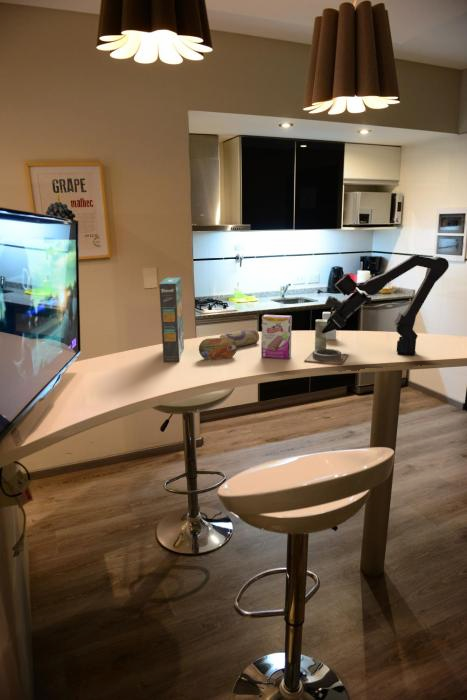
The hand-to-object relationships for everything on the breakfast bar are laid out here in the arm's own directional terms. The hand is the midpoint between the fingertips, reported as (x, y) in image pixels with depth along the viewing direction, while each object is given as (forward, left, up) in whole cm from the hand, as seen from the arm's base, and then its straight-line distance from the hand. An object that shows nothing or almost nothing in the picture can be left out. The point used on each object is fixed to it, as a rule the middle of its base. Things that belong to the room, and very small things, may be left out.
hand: (322, 330), depth 187 cm
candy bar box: (+15, +16, -9) cm, 24 cm away
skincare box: (+2, -22, -9) cm, 24 cm away
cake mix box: (+55, +26, -9) cm, 61 cm away
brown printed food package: (+36, +25, -9) cm, 45 cm away
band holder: (-4, +12, -8) cm, 15 cm away
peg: (+1, 0, -8) cm, 9 cm away
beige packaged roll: (+37, +6, -9) cm, 39 cm away
